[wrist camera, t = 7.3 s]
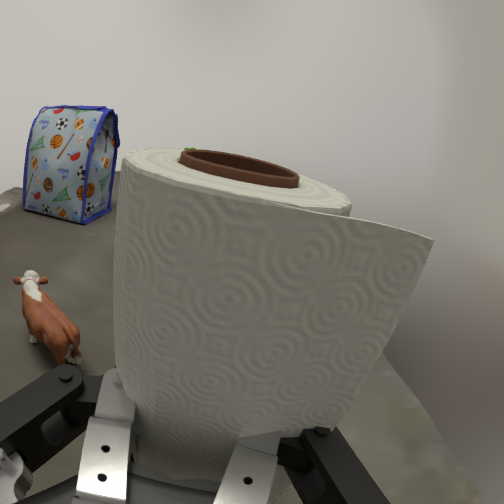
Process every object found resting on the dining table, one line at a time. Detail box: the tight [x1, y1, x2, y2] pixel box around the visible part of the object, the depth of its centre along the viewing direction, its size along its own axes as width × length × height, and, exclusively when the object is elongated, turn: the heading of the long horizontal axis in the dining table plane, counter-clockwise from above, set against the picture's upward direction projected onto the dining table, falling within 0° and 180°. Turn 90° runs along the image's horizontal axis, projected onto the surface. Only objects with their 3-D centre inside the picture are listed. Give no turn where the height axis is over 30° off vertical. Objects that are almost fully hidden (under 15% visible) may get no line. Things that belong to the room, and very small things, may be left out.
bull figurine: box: [13, 270, 82, 365], centre depth 28 cm, size 4×13×8 cm, turn 55°
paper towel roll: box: [113, 149, 434, 504], centre depth 12 cm, size 7×6×21 cm
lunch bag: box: [23, 105, 120, 225], centre depth 65 cm, size 23×17×27 cm
